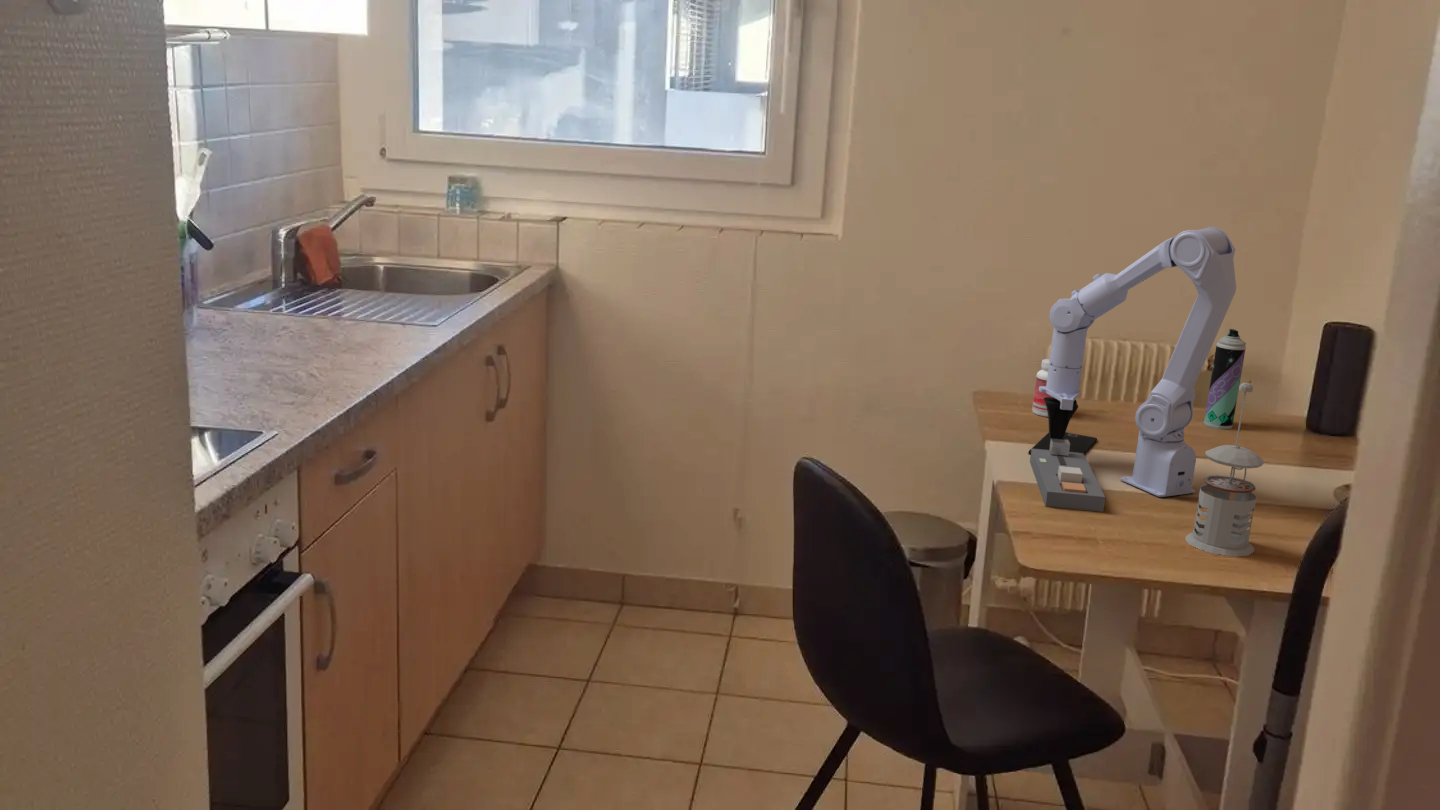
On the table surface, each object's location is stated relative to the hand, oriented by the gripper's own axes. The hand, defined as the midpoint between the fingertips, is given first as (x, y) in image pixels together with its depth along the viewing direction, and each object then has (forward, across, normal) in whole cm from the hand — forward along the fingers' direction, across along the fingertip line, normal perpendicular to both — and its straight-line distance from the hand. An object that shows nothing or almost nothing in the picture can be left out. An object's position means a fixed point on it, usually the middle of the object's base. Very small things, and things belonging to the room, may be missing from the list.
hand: (1056, 438), depth 225 cm
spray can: (+4, -35, +37) cm, 51 cm away
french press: (+4, +36, +20) cm, 42 cm away
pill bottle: (+4, -32, +2) cm, 33 cm away
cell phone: (+4, -8, +3) cm, 10 cm away
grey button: (+2, +19, 0) cm, 19 cm away
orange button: (+3, +24, 0) cm, 25 cm away
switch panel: (+4, +15, 0) cm, 16 cm away
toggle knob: (+1, +5, 0) cm, 5 cm away
